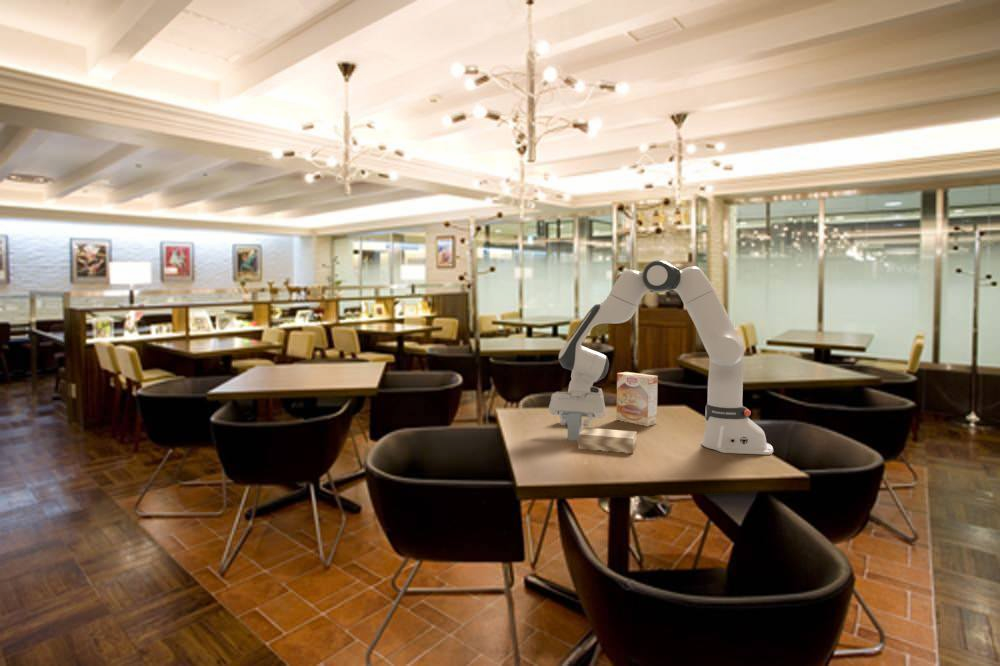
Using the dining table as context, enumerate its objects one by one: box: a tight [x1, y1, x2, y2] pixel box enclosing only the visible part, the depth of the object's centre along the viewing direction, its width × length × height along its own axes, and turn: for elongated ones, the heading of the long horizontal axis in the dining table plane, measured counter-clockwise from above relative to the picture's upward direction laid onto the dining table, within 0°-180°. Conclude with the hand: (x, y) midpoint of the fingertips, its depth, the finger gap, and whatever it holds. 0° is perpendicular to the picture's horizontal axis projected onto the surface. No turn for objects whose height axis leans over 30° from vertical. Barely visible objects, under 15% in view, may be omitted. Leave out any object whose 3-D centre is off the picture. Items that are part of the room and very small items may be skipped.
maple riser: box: [577, 426, 638, 454], centre depth 195 cm, size 18×10×5 cm, turn 71°
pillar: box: [567, 413, 582, 441], centre depth 205 cm, size 4×4×9 cm
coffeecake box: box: [615, 371, 659, 427], centre depth 232 cm, size 15×7×20 cm, turn 43°
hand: (573, 425), depth 205 cm, fingers open, 7 cm apart
